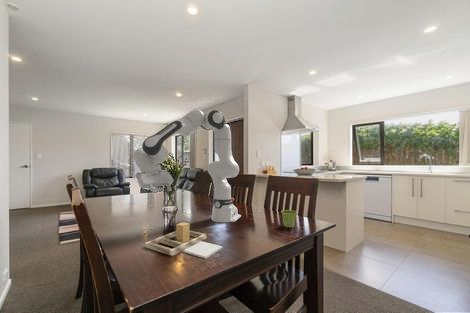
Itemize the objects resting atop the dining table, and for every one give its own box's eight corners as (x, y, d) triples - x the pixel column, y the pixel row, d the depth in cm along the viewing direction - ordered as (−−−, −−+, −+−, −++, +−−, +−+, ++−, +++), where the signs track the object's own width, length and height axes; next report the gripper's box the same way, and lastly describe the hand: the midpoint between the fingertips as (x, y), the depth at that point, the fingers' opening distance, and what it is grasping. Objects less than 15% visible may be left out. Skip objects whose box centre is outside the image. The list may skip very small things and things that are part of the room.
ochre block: (182, 237, 108) (182, 222, 108) (189, 239, 105) (189, 223, 105) (176, 240, 104) (176, 224, 104) (182, 242, 101) (183, 225, 102)
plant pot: (295, 224, 132) (295, 210, 132) (298, 229, 122) (298, 214, 122) (280, 223, 132) (280, 209, 133) (282, 228, 123) (282, 213, 123)
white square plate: (201, 242, 101) (201, 241, 101) (222, 248, 95) (222, 246, 95) (183, 252, 91) (183, 250, 91) (205, 258, 85) (205, 256, 85)
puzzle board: (181, 232, 116) (181, 228, 116) (206, 238, 107) (206, 234, 107) (145, 247, 96) (145, 242, 96) (172, 255, 87) (172, 250, 87)
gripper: (136, 168, 107) (149, 189, 102) (168, 167, 125) (180, 185, 120) (131, 177, 109) (143, 198, 104) (162, 175, 127) (174, 193, 122)
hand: (163, 191), depth 112 cm, fingers open, 8 cm apart
